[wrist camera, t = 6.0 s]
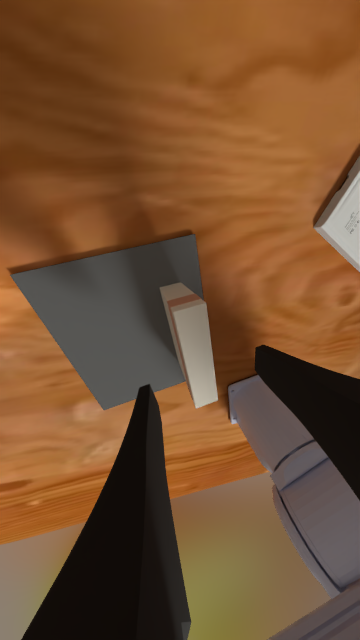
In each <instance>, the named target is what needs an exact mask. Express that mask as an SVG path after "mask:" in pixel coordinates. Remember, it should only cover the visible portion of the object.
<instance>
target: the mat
mask: <svg viewBox="0 0 360 640" xmlns="http://www.w3.org/2000/svg"><path fill="white" fill-rule="evenodd" d="M10 276H11V277H12V279H13V280H14V282H15V283H16V284H17V286H18V287H19V289H20V290H21V292H22V293H23V294H24V296H25V297H26V299H27V300H28V302H29V303H30V305H31V306H32V307H33V309H34V310H35V312H36V313H37V315H38V316H39V318H40V319H41V320H42V322H43V323H44V325H45V326H46V328H47V329H48V331H49V332H50V333H51V335H52V336H53V338H54V339H55V341H56V342H57V343H58V345H59V346H60V348H61V349H62V351H63V352H64V354H65V355H66V356H67V358H68V359H69V361H70V362H71V364H72V365H73V367H74V368H75V369H76V371H77V372H78V374H79V375H80V377H81V378H82V380H83V381H84V382H85V384H86V385H87V387H88V388H89V390H90V391H91V393H92V394H93V395H94V397H95V398H96V400H97V401H98V403H99V404H100V405H101V407H102V408H103V410H106V409H109V408H112V407H114V406H117V405H120V404H123V403H126V402H129V401H131V400H134V399H136V398H137V394H138V389H139V388H140V387H142V386H145V385H147V384H150V386H151V388H152V390H153V393H154V392H157V391H160V390H162V389H165V388H168V387H171V386H174V385H177V384H179V383H182V382H185V381H186V380H185V377H184V375H183V372H182V369H181V367H180V364H179V361H178V357H177V353H176V350H175V346H174V342H173V338H172V334H171V330H170V327H169V323H168V319H167V315H166V311H165V307H164V303H163V300H162V296H161V292H160V287H164V286H168V285H171V284H175V283H179V282H181V283H182V284H183V285H185V286H186V287H187V288H188V289H190V290H191V291H192V292H193V293H195V294H197V295H198V296H199V297H200V298H201V299H202V300H203V301H204V299H203V291H202V284H201V276H200V268H199V261H198V253H197V246H196V238H195V234H193V235H188V236H183V237H179V238H174V239H170V240H165V241H161V242H156V243H152V244H147V245H143V246H138V247H134V248H129V249H125V250H120V251H116V252H111V253H107V254H102V255H98V256H93V257H88V258H84V259H79V260H75V261H70V262H66V263H61V264H57V265H52V266H48V267H43V268H39V269H34V270H30V271H25V272H21V273H16V274H12V275H10Z"/></svg>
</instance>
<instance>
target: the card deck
mask: <svg viewBox="0 0 360 640" xmlns="http://www.w3.org/2000/svg"><path fill="white" fill-rule="evenodd" d="M160 292H161V296H162V300H163V303H164V307H165V311H166V315H167V319H168V323H169V327H170V330H171V334H172V338H173V342H174V346H175V350H176V353H177V357H178V361H179V364H180V367H181V369H182V372H183V375H184V377H185V380H186V383H187V386H188V389H189V392H190V394H191V397H192V400H193V402H194V404H195V407H196V408H199V407H201V406H204V405H207V404H209V403H212V402H215V401H217V400H218V395H217V387H216V379H215V370H214V362H213V354H212V346H211V338H210V329H209V321H208V313H207V305H206V302H205V301H203V300H202V299H201V298H200V297H199V296H198V295H197V294H195V293H193V292H192V291H191V290H190V289H188V288H187V287H186V286H185V285H183V284H182V283H181V282H179V283H175V284H171V285H168V286H164V287H160Z"/></svg>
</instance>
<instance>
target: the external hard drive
mask: <svg viewBox="0 0 360 640" xmlns="http://www.w3.org/2000/svg"><path fill="white" fill-rule="evenodd" d="M314 229H315V230H316V231H317V232H318V233H319V234H320V235H321V236H322V237H323V238H324V239H325V240H326V241H327V242H329V243H330V244H331V245H332V246H333V247H334V248H335V249H336V250H337V251H338V252H339V253H340V254H341V255H342V256H343V257H344V258H345V259H346V260H347V261H348V262H349V263H351V264H352V265H353V266H354V267H355V268H356V269H357V270H358V271H359V272H360V156H359V157H358V159H357V160H356V162H355V164H354V165H353V167H352V168H351V170H350V171H349V173H348V175H347V179H346V180H345V182H344V183H343V186H342V187H341V189H340V190H339V191H337V192H336V193H335V195H334V196H333V198H332V199H331V201H330V202H329V204H328V206H327V207H326V209H325V210H324V212H323V213H322V215H321V216H320V218H319V220H318V221H317V223H316V224H315V226H314Z"/></svg>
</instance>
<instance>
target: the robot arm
mask: <svg viewBox="0 0 360 640" xmlns="http://www.w3.org/2000/svg"><path fill="white" fill-rule="evenodd" d="M255 371H256V372H257V374H258V375H256V376H253V377H251V378H248V379H245V380H242V381H240V382H237V383H234V384H232V385H230V386H229V387H228V394H229V408H230V421H231V423H232V424H235V423H238V424H239V426H240V428H241V430H242V431H243V433H244V435H245V437H246V438H247V440H248V442H249V444H250V445H251V447H252V449H253V450H254V452H255V454H256V456H257V457H258V459H259V461H260V462H261V463H262V465H263V466H264V467H265V468H266V469H267V470H269V471H270V472H271V473H272V474H271V475H270V477H271V478H272V480H273V482H274V483H275V485H274V486H273V487H272V492H273V500H274V505H275V508H276V510H277V513H278V515H279V518H280V520H281V522H282V524H283V526H284V528H285V530H286V532H287V534H288V536H289V538H290V540H291V541H292V543H293V545H294V546H295V548H296V550H297V552H298V553H299V555H300V557H301V558H302V560H303V561H304V563H305V564H306V566H307V567H308V569H309V570H310V572H311V573H312V574H313V575H314V577H315V578H316V579H317V580H318V581H319V582H320V583H321V585H322V586H323V587H324V589H325V590H326V592H327V593H328V595H329V596H330V598H331V600H329V601H328V602H326V603H324V604H323V605H321V606H320V607H318V608H316V609H315V610H313V611H312V612H310V613H309V614H307V615H305V616H304V617H302V618H301V619H299V620H297V621H296V622H294V623H293V624H291V625H290V626H288V627H286V628H285V629H283V630H282V631H280V632H278V633H277V634H275V635H274V636H272V637H270V638H269V639H267V640H360V379H357V378H354V377H350V376H347V375H344V374H340V373H337V372H334V371H331V370H328V369H325V368H322V367H319V366H317V365H314V364H311V363H309V362H306V361H303V360H301V359H298V358H296V357H293V356H291V355H288V354H286V353H283V352H281V351H278V350H276V349H274V348H271V347H268V346H266V345H261V346H258V347H256V349H255ZM190 625H191V619H190V613H189V608H188V602H187V597H186V591H185V586H184V580H183V575H182V569H181V563H180V558H179V552H178V546H177V540H176V535H175V529H174V522H173V517H172V510H171V504H170V497H169V491H168V485H167V478H166V469H165V457H164V444H163V432H162V422H161V416H160V411H159V405H158V403H157V400H156V398H155V395H154V393H153V390H152V388H151V386H150V384H147V385H145V386H142V387H140V388H139V389H138V394H137V398H136V402H135V406H134V409H133V413H132V416H131V419H130V422H129V425H128V428H127V431H126V434H125V437H124V439H123V442H122V445H121V447H120V450H119V453H118V455H117V458H116V460H115V462H114V465H113V467H112V469H111V472H110V474H109V476H108V478H107V481H106V483H105V485H104V487H103V489H102V491H101V493H100V496H99V498H98V500H97V502H96V504H95V506H94V508H93V510H92V512H91V514H90V516H89V518H88V520H87V522H86V524H85V526H84V528H83V529H82V531H81V534H80V535H79V537H78V539H77V541H76V543H75V545H74V547H73V549H72V550H71V552H70V554H69V556H68V558H67V560H66V562H65V563H64V566H63V567H62V569H61V571H60V573H59V574H58V576H57V578H56V580H55V582H54V583H53V585H52V587H51V588H50V590H49V592H48V594H47V596H46V597H45V599H44V601H43V602H42V604H41V606H40V608H39V609H38V611H37V613H36V615H35V616H34V618H33V620H32V622H31V623H30V625H29V627H28V629H27V630H26V632H25V634H24V636H23V638H22V639H21V640H187V638H188V634H189V630H190Z"/></svg>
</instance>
